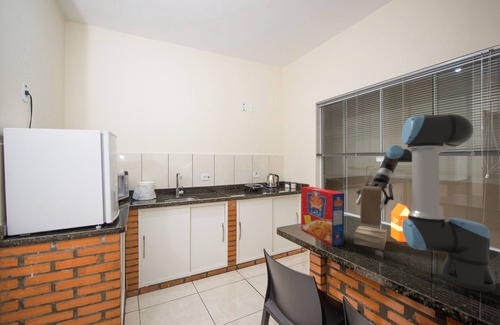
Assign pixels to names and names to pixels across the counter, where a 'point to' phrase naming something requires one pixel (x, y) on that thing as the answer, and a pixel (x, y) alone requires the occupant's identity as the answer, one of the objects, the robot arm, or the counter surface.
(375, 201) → the block
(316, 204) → the pasta box
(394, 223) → the orange juice
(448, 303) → the counter surface
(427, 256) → the counter surface
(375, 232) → the plinth
